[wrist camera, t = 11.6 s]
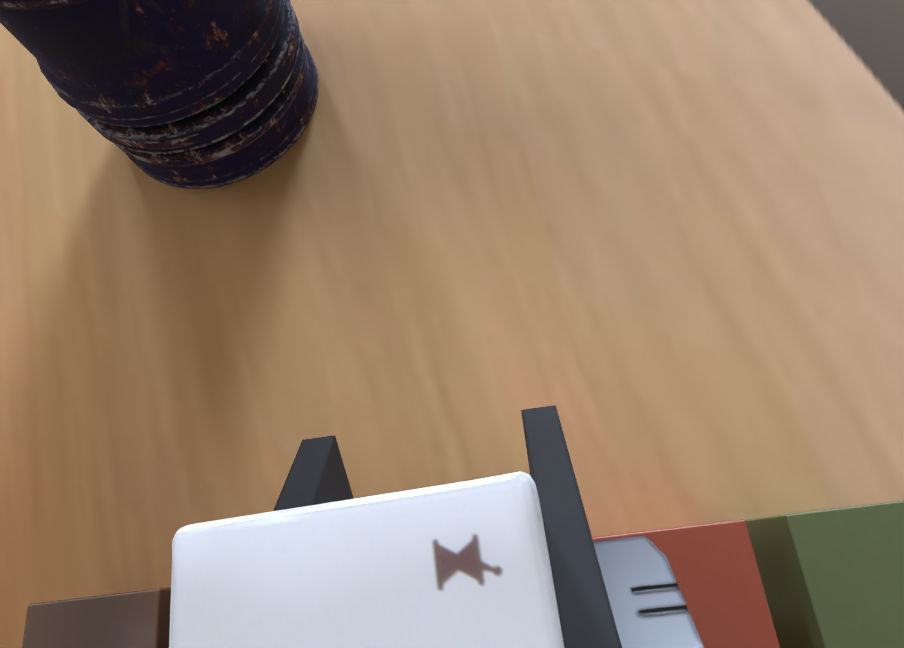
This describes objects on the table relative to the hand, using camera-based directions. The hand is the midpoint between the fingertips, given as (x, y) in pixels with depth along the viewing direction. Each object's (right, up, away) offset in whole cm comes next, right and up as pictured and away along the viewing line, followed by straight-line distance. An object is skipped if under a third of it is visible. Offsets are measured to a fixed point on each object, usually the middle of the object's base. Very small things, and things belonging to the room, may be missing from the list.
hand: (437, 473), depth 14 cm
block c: (+7, -5, +5) cm, 10 cm away
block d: (+12, -4, +5) cm, 13 cm away
